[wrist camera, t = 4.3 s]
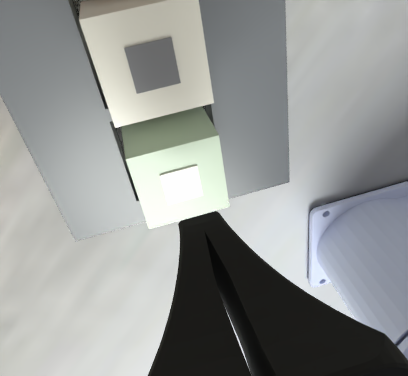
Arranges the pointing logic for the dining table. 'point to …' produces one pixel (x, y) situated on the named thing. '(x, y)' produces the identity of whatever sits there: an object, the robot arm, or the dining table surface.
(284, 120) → the keypad
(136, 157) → the key sage
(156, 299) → the dining table surface
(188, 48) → the key ivory
